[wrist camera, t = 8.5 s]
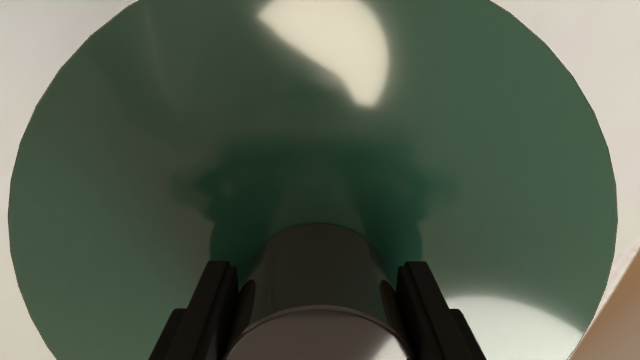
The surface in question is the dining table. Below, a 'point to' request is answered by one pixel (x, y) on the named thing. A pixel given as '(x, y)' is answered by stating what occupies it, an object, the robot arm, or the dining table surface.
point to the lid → (312, 180)
